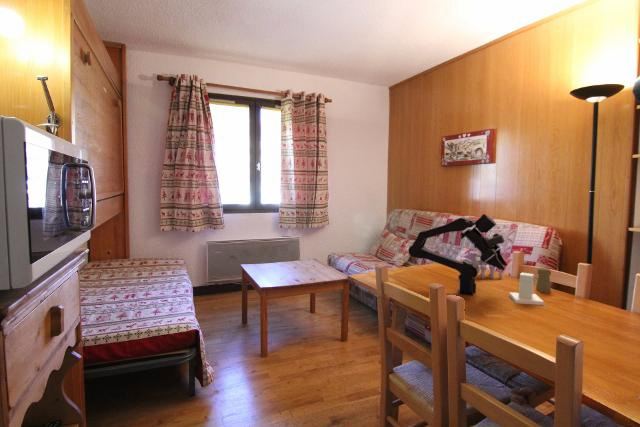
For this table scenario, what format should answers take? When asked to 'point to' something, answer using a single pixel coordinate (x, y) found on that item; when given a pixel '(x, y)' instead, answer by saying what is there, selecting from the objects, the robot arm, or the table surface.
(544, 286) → the olive green vase
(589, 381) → the table surface
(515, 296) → the tower top
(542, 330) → the table surface
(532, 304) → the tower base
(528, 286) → the block
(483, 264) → the toy sheep
